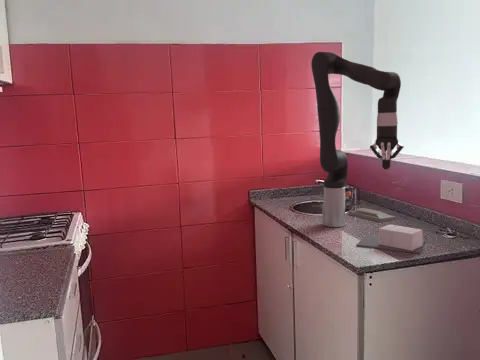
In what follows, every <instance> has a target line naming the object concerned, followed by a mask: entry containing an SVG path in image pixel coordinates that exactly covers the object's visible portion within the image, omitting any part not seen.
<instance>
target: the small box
mask: <svg viewBox="0 0 480 360" xmlns="http://www.w3.org/2000/svg"><path fill="white" fill-rule="evenodd" d="M423 232H424V231H423V229H419V228H414V227H408V226H400V225H395V224H387V225H385V226H384V225H383V226H382V227H379V228H378V235H379V245H384V246H390V247H395V248H400V249H405V250H410V251H413V250H415V249H417V248H419V247H421V246H422V240H423V235H424V234H423Z"/></svg>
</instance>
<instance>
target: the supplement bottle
mask: <svg viewBox="0 0 480 360" xmlns="http://www.w3.org/2000/svg"><path fill="white" fill-rule="evenodd" d="M351 209H352V192H351V190H350V186H345V211H347V210H351Z"/></svg>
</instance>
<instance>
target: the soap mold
mask: <svg viewBox="0 0 480 360" xmlns="http://www.w3.org/2000/svg"><path fill="white" fill-rule="evenodd" d="M348 215H349V216H352V217H357V218H361V219H364V220H369V221H373V222H376V223H383V222H388V221H394V220H396V219H397V218H396V216H395V215H390V214H387V213H385V212H382V211H379V210H374V209H369V208H365V207H360V208H357V209H356V210H349V212H348Z"/></svg>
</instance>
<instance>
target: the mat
mask: <svg viewBox="0 0 480 360" xmlns="http://www.w3.org/2000/svg"><path fill="white" fill-rule="evenodd" d="M425 242H426V239H422V246H421V247H419V248H417V249H415V250H413V251H410V250H405V249H400V248H395V247H390V246H384V245H379V234H371V233H370V234H369V233H366V234H365V235H364V236H363V237H362V238H361V239H360V240H359V241H358V243H356V247H359V248H370V249H377V250H378V249H379V250H385V251H386V250H388V251H396V252H405V253H412V254H414V253H415V254H420V252H421V250H422V249H423V246H424V244H425Z"/></svg>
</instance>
